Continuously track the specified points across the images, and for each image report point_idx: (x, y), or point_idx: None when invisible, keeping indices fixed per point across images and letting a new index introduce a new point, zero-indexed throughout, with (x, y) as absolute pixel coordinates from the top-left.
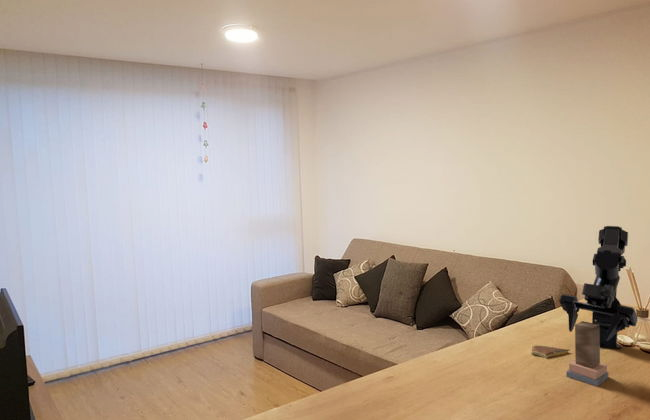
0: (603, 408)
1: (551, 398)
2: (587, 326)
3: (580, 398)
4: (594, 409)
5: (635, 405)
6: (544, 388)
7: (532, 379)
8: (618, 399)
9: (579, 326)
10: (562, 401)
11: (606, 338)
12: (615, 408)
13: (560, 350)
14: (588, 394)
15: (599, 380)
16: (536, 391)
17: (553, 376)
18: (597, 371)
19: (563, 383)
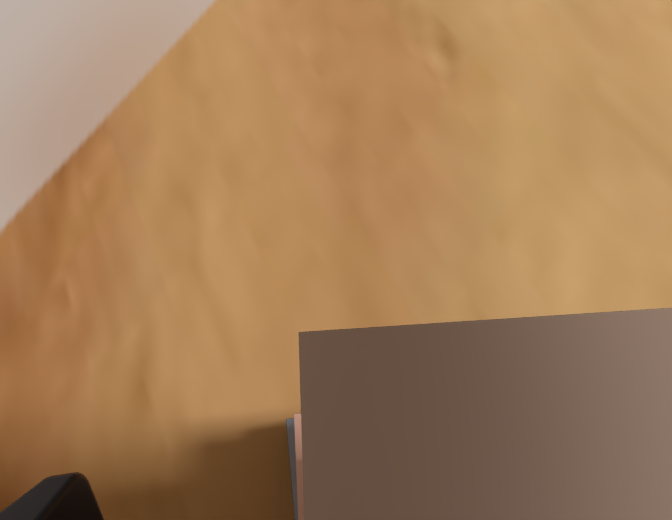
0: (142, 160)
1: (391, 28)
2: (466, 377)
3: (285, 158)
4: (173, 111)
5: (11, 356)
6: (499, 92)
7: (642, 131)
8: (114, 346)
9: (662, 313)
10: (333, 48)
11: (54, 479)
12: (92, 215)
13: None
14: (278, 247)
15: (290, 458)
16: (499, 25)
17: (602, 301)
18: (296, 446)
19: (477, 256)
